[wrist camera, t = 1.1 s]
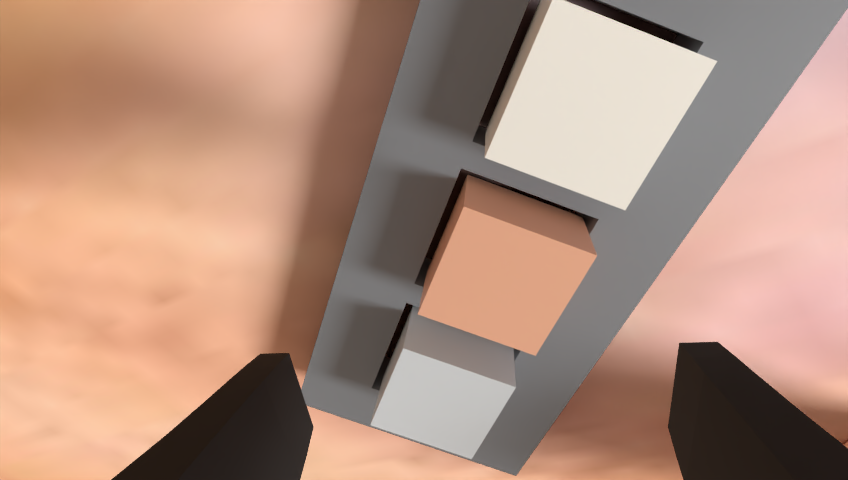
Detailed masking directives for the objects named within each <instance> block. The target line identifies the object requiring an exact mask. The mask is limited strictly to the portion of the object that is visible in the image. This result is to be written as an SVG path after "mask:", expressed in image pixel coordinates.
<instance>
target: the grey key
mask: <svg viewBox="0 0 848 480" xmlns="http://www.w3.org/2000/svg"><path fill="white" fill-rule="evenodd" d="M418 311H419V307H417V306H414V305H413V306H412V309H411V311H410V313H409V316H408V318H407V321H406V323H405V325H404V328H403V330H402V333H401V335H400V337H399V340H398V342H397V345H396V347H395V349H394V352H393V354H392V357H391V359H390V361H389V364H388V366H387V369H386V371H385V373H384V376H383V379H382V383H381V386H380V390H379V394H378V398H377V402H376V405H375V409H374V413H373V417H372V420H371V424H370V425H371V426H374V427H377V428H380V429H383V430H386V431H389V432H392V433H395V434H398V435H401V436H404V437H407V438H410V439H413V440H416V441H419V442H422V443H425V444H428V445H431V446H433V447H436V448H439V449H442V450H445V451H448V452H451V453H454V454H457V455H460V456H463V457H466V458H469V459H472V458H473V456H474V455H475V453H476V451H477V450H478V448H479V447H480V445H481V443H482V442H483V440H484V438H485V437H486V435H487V434H488V432H489V430H490V429H491V427H492V426H493V424H494V422H495V421H496V419H497V417H498V416H499V414H500V413H501V411H502V409H503V408H504V406H505V404H506V403H507V401H508V400H509V398H510V396H511V395H512V393H513V391H514V390H515V388H516V379H515V363H514V348H512V347H509V346H506V345H503V344H500V343H498V342H495V341H492V340H489V339H486V338H483V337H480V336H478V335H475V334H472V333H469V332H466V331H463V330H461V329H458V328H455V327H452V326H449V325H446V324H444V323H441V322H438V321H435V320H432V319H429V318H426V317H424V316H421V315H418Z"/></svg>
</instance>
